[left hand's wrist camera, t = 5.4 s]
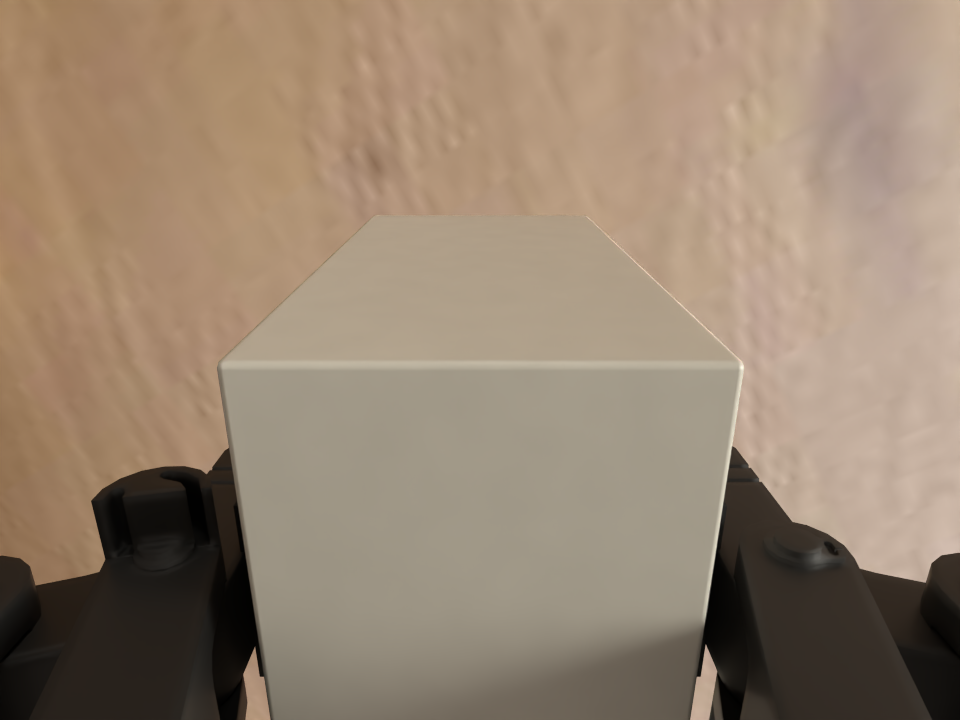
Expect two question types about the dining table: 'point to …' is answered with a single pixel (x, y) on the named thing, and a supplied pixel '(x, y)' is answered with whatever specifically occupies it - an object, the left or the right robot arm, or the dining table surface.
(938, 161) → the dining table surface
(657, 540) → the bar
